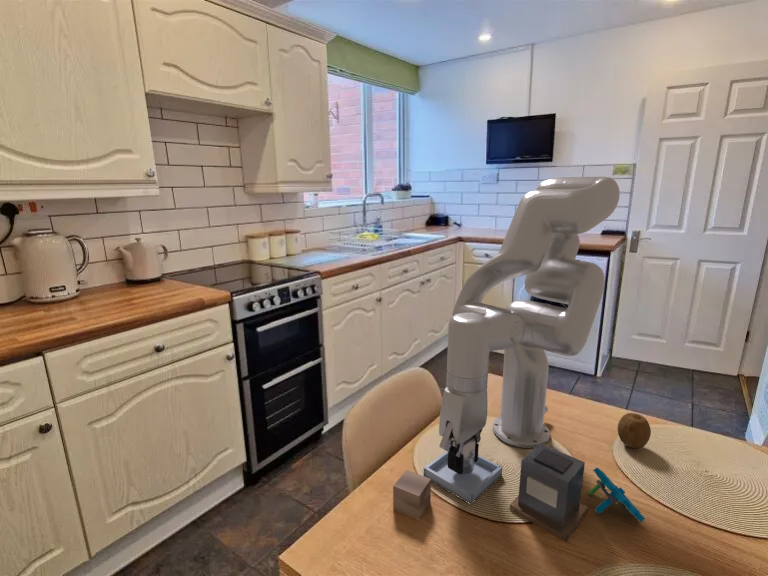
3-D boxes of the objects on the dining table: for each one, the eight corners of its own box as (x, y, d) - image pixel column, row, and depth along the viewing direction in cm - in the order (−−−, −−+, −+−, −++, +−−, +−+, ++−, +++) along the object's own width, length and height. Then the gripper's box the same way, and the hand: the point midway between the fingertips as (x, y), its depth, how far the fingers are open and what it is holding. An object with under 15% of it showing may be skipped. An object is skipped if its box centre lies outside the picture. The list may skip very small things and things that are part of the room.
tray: (456, 451, 90) (456, 443, 90) (501, 475, 83) (502, 466, 82) (423, 476, 83) (423, 467, 82) (470, 505, 75) (471, 495, 75)
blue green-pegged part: (659, 529, 68) (616, 486, 67) (630, 551, 68) (588, 509, 68) (625, 489, 79) (588, 452, 78) (601, 509, 79) (564, 472, 79)
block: (406, 492, 79) (406, 469, 77) (430, 502, 76) (431, 478, 75) (393, 510, 74) (393, 485, 73) (418, 520, 72) (418, 496, 71)
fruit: (652, 448, 91) (658, 415, 89) (640, 459, 88) (645, 425, 86) (623, 435, 96) (627, 403, 94) (610, 445, 92) (614, 412, 90)
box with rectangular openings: (532, 484, 80) (537, 436, 78) (586, 511, 74) (593, 460, 71) (509, 509, 74) (513, 458, 72) (566, 541, 67) (572, 487, 65)
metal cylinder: (459, 456, 85) (460, 430, 84) (478, 466, 82) (479, 439, 81) (446, 466, 82) (447, 439, 81) (465, 477, 79) (467, 449, 78)
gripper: (474, 360, 86) (470, 439, 90) (422, 387, 75) (420, 476, 79) (507, 371, 81) (501, 454, 85) (457, 402, 69) (453, 496, 74)
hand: (462, 463), depth 82 cm, fingers closed on metal cylinder, 4 cm apart
